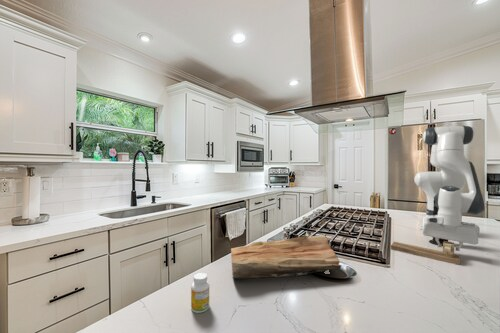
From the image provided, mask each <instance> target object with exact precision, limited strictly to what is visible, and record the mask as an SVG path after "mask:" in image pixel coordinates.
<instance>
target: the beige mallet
mask: <svg viewBox="0 0 500 333" xmlns="http://www.w3.org/2000/svg"><path fill="white" fill-rule="evenodd" d="M442 252H447V256H448V253H452V254H455V242H454V241H449V240H448V241H443V246H442Z"/></svg>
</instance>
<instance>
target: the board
mask: <svg viewBox="0 0 500 333" xmlns="http://www.w3.org/2000/svg"><path fill="white" fill-rule="evenodd" d="M390 250H393V251H397V252H402V253H406V254H410V255H414V256H419V257H423V258H429V259H432V260H436V261H440V262H445V263H448V264H454V265H458V266H460V261H461V260H460V254H455V253H454V254H452V253H448V256H447V252H443V250H442V251H441V250H437V249H432V248H428V247H422V246H418V245H412V244H410V243H409V244H408V243H404V242H399V241H393V242H392V244H390Z"/></svg>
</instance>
